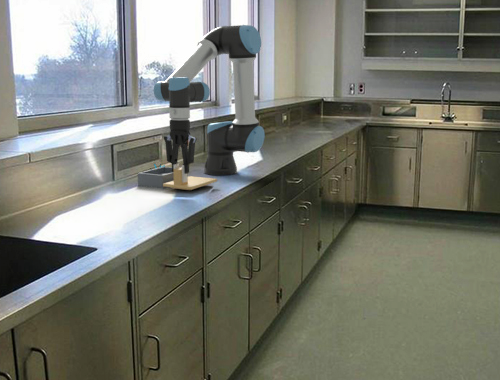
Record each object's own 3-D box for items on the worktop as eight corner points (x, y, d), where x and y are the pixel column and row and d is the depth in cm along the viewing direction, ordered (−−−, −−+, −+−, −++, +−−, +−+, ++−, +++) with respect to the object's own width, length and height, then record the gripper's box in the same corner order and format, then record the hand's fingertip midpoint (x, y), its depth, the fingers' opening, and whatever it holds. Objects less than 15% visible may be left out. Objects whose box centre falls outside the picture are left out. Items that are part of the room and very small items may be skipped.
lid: (190, 180, 239) (189, 161, 238) (217, 183, 234) (217, 164, 232) (163, 188, 223) (162, 168, 221) (191, 191, 217) (191, 170, 216)
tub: (164, 180, 248) (163, 166, 247) (188, 183, 243) (187, 168, 242) (138, 187, 233) (137, 173, 231) (163, 190, 227) (162, 175, 226)
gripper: (155, 118, 217) (157, 181, 222) (192, 120, 210) (193, 185, 215) (167, 117, 224) (168, 178, 228) (203, 119, 217) (204, 181, 221)
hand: (180, 181), depth 222 cm, fingers closed on lid, 3 cm apart
